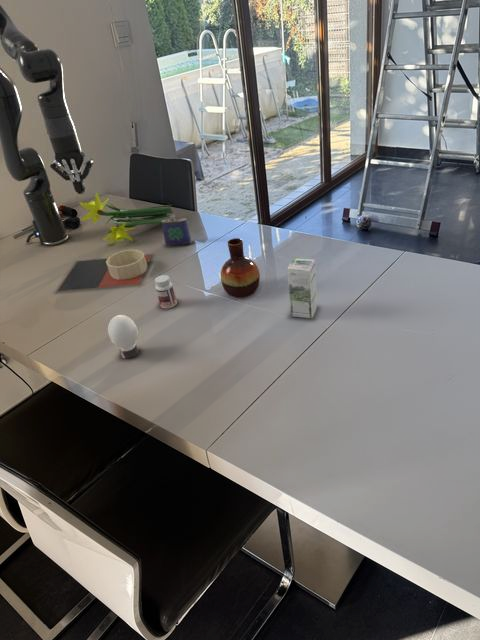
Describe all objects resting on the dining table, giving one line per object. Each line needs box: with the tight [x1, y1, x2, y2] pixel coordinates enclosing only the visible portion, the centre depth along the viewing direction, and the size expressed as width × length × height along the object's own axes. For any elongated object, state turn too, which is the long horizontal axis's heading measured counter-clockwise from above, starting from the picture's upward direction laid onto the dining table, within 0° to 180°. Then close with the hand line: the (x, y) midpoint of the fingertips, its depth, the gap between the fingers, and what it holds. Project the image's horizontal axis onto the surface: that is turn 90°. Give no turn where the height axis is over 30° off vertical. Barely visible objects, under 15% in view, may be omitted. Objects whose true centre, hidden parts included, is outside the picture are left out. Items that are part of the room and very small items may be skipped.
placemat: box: [57, 254, 152, 292], centre depth 155 cm, size 26×20×1 cm
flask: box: [160, 214, 193, 248], centre depth 164 cm, size 9×3×11 cm, turn 88°
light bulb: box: [107, 314, 139, 359], centre depth 115 cm, size 7×7×11 cm
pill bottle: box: [154, 274, 178, 309], centre depth 133 cm, size 5×5×8 cm
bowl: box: [106, 249, 148, 280], centre depth 153 cm, size 12×12×4 cm
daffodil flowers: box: [78, 191, 173, 245], centre depth 174 cm, size 17×15×35 cm
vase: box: [219, 237, 261, 299], centre depth 132 cm, size 11×11×15 cm
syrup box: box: [286, 258, 318, 320], centre depth 120 cm, size 6×6×14 cm
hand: (81, 192), depth 146 cm, fingers closed
